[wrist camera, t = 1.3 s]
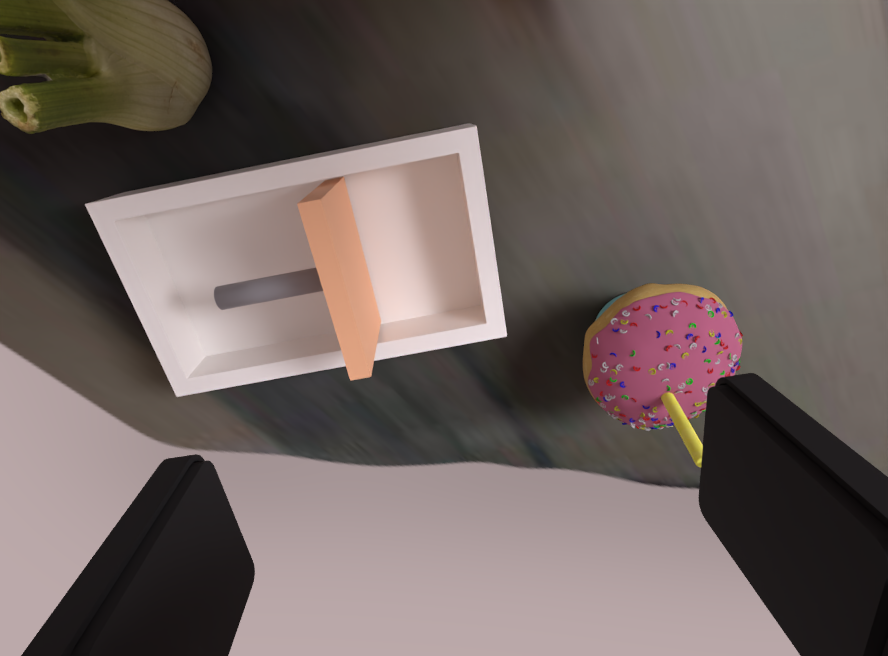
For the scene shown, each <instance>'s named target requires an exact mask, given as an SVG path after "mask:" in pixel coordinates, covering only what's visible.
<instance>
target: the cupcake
mask: <svg viewBox="0 0 888 656" xmlns="http://www.w3.org/2000/svg"><path fill="white" fill-rule="evenodd" d="M732 316H733V313H732V312H731V311H728V310H727V308H726V306H725V305H724V303H723V302H722V301H721V300H720V299H719V298H718V297H717V296H716V295H715V294H713V293H712V292H710V291H708V290H706V289H704V288H702V287H699V286H694V285H688V284H666V285H663V284H654V283H649V284H645V285H642V286H640V287H637V288H635V289H633V290H631V291H629V292H627V293H625V294H622V295H620V296H618V297H616V298H614V299H612V300H611V301H610V302H608V303H607V304H606V305H605V306H604V307H603V308H602V310H601V311H600V312H599V314H598V316H597V318H596V320H595V322H594V323H593V324H592V325H591V326H590V327H589V328H588V330H587V331H586V334H585V340H584V351H583V374H584V379H585V382H586V385H587V387H588V390H589V392H590V393H591V395H592V397H593V398H594V400H595V401H596V402H597V403H598V405H599V406H600V407H601V408H603V409H604V410H605V411H606V412H607V414H608V415H609V416H610V415H611V416H612V418H614V419H618V420H620V421H622V422H624V423H622V424H623V425H625V424H629V425H631V426H632V427H633V428H634V427H635V426H636V427H637V426H638V427H639V428H640V429H645V430H646V431H650V428H651V429H663V428H664V427H673V424H675V426H676V428H677V430H678V432H679V434H680V436H681V438H682V440H683V441H684V443H685V445H686V447H687V449H688V451H689V453H690V455H691V456H692V458H693V460H694V462H695V464H696V465H697V466H698V467H701V463H702V451H703V445H702V444H701V442H700V440H699V438H698V436H697V435H696V433H695V431H694V429H693V428H692V426H691V424H690V422H689V421H688V419H690V418H693V417H694V418H697V417H698V416H699V414H700V413H702V412H704V411H706V402H707V393H708V390H709V388H710V387H713V386H715V384H716V382H717V380H718V379H719V378H721V377H727V376H734V375H735V372H736V371H737V370H739V369H740V366H738V365H739V364H740V355H741V350H742V337H741V336H743V335H742V333H741V332H740V331H739V329H738V327H737V325H736V323H735V320H734V318H733V317H732ZM696 415H697V416H696ZM638 427H637V428H638ZM641 427H643V428H641ZM646 427H648V428H646ZM659 427H660V428H659ZM639 428H638V429H639Z"/></svg>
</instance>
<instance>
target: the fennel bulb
mask: <svg viewBox="0 0 888 656" xmlns="http://www.w3.org/2000/svg"><path fill="white" fill-rule="evenodd" d="M0 34H8V35H10V34H12V35H26V36H32V37H44V38H45V39H46V40H47V41H43V40H41V41H39V40H25V39H15V38H6V37H3V36H0V74H2V75H6V76H19V77H28V76H39V77H44V78H46V79H47V81H44V82H41V83H29V84H25V83H23V84H21V85H14V86H10V87H9V88H8V89H6V90H4V91H1V92H0V110H1V111H2V113H1V115H2V116H3V118H4V119H6V120H8V121H9V122H10V123H11V124H12V125H13V126H15V127H18V128H19V129H20V130H22V131H24V132H26V133H28V134H34V133H36V132H37V133H39V132H42V131H46V130H49V129H54V128H57V127H65V126H69V125H76V124H82V123H88V122H105V123H110V124H115V125H118V126H122V127H126V128H130V129H135V130H141V131H162V130H168V129H172V128H175V127H178V126H180V125H184V124H186V123H187V122H188V121H189V120H190V119H191V117H192V116H193V115H194V113H195V111H196V109H197V108H198V106H199V104H200V103H201V101H202V100H203V98H204V97H205V96H206V94H207V92H208V89H209V87H210V84H211V79H212V63H211V59H210V55H209V52H208V49H207V46H206V43H205V41H204V39H203V37H202V35H201V33H200V32H199V30H198V28H197V27H196V26H195V24H194V23H193V22H192V21H191V20H190V18H189V17H188V16H187V15H186V14H185V13H183V12H182V11H181V10H180V9H179V8H177V7H176V6H175V5H173V4H172V3H171V2H169V1H168V0H0Z"/></svg>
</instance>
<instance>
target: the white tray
mask: <svg viewBox="0 0 888 656" xmlns="http://www.w3.org/2000/svg"><path fill="white" fill-rule="evenodd" d="M339 177H344V179H345V183H346V187H347V190H348V194H349V198H350V202H351V206H352V210H353V214H354V218H355V221H356V225H357V229H358V233H359V237H360V241H361V245H362V249H363V252H364V256H365V260H366V264H367V268H368V272H369V276H370V280H371V283H372V287H373V291H374V295H375V299H376V303H377V307H378V311H379V314H380V318H381V325H380V330H379V336H378V341H377V347H376V352H375V358H374V361H376V360H381V359H387V358H392V357H398V356H403V355H409V354H414V353H419V352H425V351H430V350H436V349H441V348H447V347H452V346H458V345H463V344H469V343H474V342H480V341H485V340H490V339H496V338H501V337H507V332H506V325H505V318H504V311H503V304H502V297H501V290H500V283H499V277H498V270H497V263H496V256H495V249H494V242H493V235H492V228H491V222H490V215H489V208H488V201H487V194H486V187H485V180H484V173H483V167H482V160H481V153H480V146H479V139H478V132H477V126H475V125H473V124H471V123H468V124H463V125H458V126H453V127H448V128H443V129H438V130H433V131H428V132H422V133H417V134H412V135H407V136H402V137H397V138H392V139H387V140H382V141H377V142H372V143H367V144H362V145H357V146H352V147H347V148H342V149H337V150H332V151H327V152H322V153H317V154H312V155H307V156H302V157H297V158H292V159H287V160H282V161H277V162H272V163H267V164H262V165H257V166H252V167H247V168H242V169H237V170H232V171H227V172H222V173H217V174H212V175H207V176H202V177H197V178H192V179H187V180H182V181H177V182H172V183H167V184H162V185H157V186H152V187H147V188H142V189H137V190H132V191H127V192H123V193H120V194H116V195H113V196H110V197H107V198H103V199H100V200H97V201H94V202H90V203H87V204H85V206H86V208H87V210H88V212H89V214H90V216H91V218H92V220H93V223H94V225H95V227H96V229H97V231H98V233H99V235H100V237H101V239H102V241H103V243H104V246H105V248H106V250H107V252H108V254H109V256H110V258H111V260H112V262H113V264H114V267H115V269H116V271H117V273H118V275H119V277H120V279H121V281H122V283H123V285H124V287H125V290H126V292H127V294H128V296H129V298H130V300H131V302H132V304H133V306H134V308H135V311H136V313H137V315H138V317H139V319H140V321H141V323H142V325H143V327H144V329H145V331H146V334H147V336H148V338H149V340H150V342H151V344H152V346H153V348H154V350H155V352H156V355H157V357H158V359H159V361H160V363H161V365H162V367H163V369H164V371H165V373H166V375H167V378H168V380H169V382H170V384H171V386H172V388H173V390H174V392H175V394H176V396H177V397H179V396H184V395H190V394H195V393H201V392H206V391H212V390H217V389H223V388H228V387H234V386H239V385H245V384H250V383H256V382H261V381H266V380H272V379H277V378H283V377H288V376H294V375H299V374H305V373H310V372H316V371H321V370H327V369H332V368H337V367H343V366H346V364H345V361H344V358H343V354H342V351H341V348H340V345H339V341H338V338H337V335H336V331H335V328H334V325H333V321H332V318H331V315H330V312H329V308H328V305H327V302H326V298H325V295H324V292H323V291H320V292H315V293H310V294H304V295H299V296H294V297H288V298H283V299H278V300H272V301H267V302H262V303H257V304H251V305H246V306H241V307H235V308H230V309H225V310H221V309H220V308H219V307H218V306H217V304H216V302H215V299H214V289H215V287H217V286H222V285H227V284H232V283H237V282H243V281H248V280H253V279H258V278H263V277H269V276H274V275H279V274H284V273H290V272H295V271H300V270H305V269H311V268H316V265H315V262H314V259H313V255H312V252H311V249H310V245H309V242H308V239H307V235H306V232H305V229H304V226H303V222H302V219H301V216H300V212H299V209H298V206H297V203H298V202H300V201H301V200H302V199H303V198H305V197H306V196H307V195H308V194H309V193H311V192H312V191H313V190H314V189H315V188H317V187H318V186H319V185H320V184H321V183H323V182H324V181H325V180H329V179H334V178H339Z"/></svg>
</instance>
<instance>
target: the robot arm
mask: <svg viewBox="0 0 888 656" xmlns="http://www.w3.org/2000/svg"><path fill="white" fill-rule="evenodd" d="M699 505H700V509H701V512H702V514H703V516H704V518H705V519H706V521H707V522H708V524H709V525H710V527H711V528H712V530H713V531H714V532H715V534H716V535H717V537H718V538H719V540H720V541H721V542H722V544H723V545H724V547H725V548H726V550H727V551H728V552H729V554H730V555H731V557H732V558H733V560H734V561H735V562H736V564H737V565H738V567H739V568H740V570H741V571H742V572H743V574H744V575H745V577H746V578H747V580H748V581H749V582H750V584H751V585H752V587H753V588H754V590H755V591H756V592H757V594H758V595H759V597H760V598H761V600H762V601H763V602H764V604H765V605H766V607H767V608H768V610H769V611H770V612H771V614H772V615H773V617H774V618H775V619H776V621H777V622H778V624H779V625H780V627H781V628H782V630H783V631H784V632H785V634H786V635H787V637H788V638H789V640H790V641H791V642H792V644H793V645H794V647H795V648H796V650H797V651H798V652H799V654H800V655H801V656H888V477H887V476H886V475H884V474H883V473H882V472H881V471H879V470H878V469H877V468H875V467H874V466H873V465H872V464H870V463H869V462H868V461H867V460H865V459H864V458H863V457H861V456H860V455H859V454H858V453H856V452H855V451H854V450H852V449H851V448H850V447H849V446H847V445H846V444H845V443H844V442H842V441H841V440H840V439H838V438H837V437H836V436H835V435H833V434H832V433H831V432H830V431H828V430H827V429H826V428H824V427H823V426H822V425H821V424H819V423H818V422H817V421H815V420H814V419H813V418H812V417H810V416H809V415H808V414H807V413H805V412H804V411H803V410H801V409H800V408H799V407H798V406H796V405H795V404H794V403H793V402H791V401H790V400H789V399H787V398H786V397H785V396H784V395H782V394H781V393H780V392H778V391H777V390H776V389H775V388H773V387H772V386H771V385H770V384H768V383H767V382H766V381H764V380H763V379H762V378H761V377H759V376H758V375H756V374H754V373H748V374H741V375H734V376H727V377H721V378H719V379H718V380H717V382H716V384H715V386H713V387H710V388H709V390H708V393H707V402H706V414H705V426H704V438H703V451H702V463H701V475H700V487H699ZM254 575H255V570H254V563H253V560H252V558H251V555H250V553H249V550H248V548H247V546H246V543H245V541H244V538H243V536H242V533H241V531H240V528H239V526H238V523H237V521H236V519H235V516H234V514H233V511H232V509H231V506H230V504H229V501H228V499H227V496H226V494H225V492H224V489H223V487H222V484H221V482H220V479H219V477H218V474H217V472H216V469H215V468H214V465H213V464H212V463H211V462H210V461H204V459H203V458H202V457H201V456H200V455H189V456H183V457H175V458H169V459H166V460H164V461H163V462H162V463H161V464H160V465H159V467H158V468H157V469H156V471H155V472H154V473H153V475H152V476H151V477H150V479H149V480H148V482H147V483H146V484H145V486H144V487H143V488H142V490H141V491H140V493H139V494H138V496H137V497H136V498H135V500H134V501H133V502H132V504H131V505H130V507H129V508H128V509H127V511H126V512H125V513H124V515H123V516H122V517H121V519H120V520H119V522H118V523H117V524H116V526H115V527H114V528H113V530H112V531H111V533H110V534H109V535H108V537H107V538H106V539H105V541H104V542H103V544H102V545H101V546H100V548H99V549H98V551H97V552H96V553H95V555H94V556H93V557H92V559H91V560H90V562H89V563H88V564H87V566H86V567H85V568H84V570H83V571H82V573H81V574H80V575H79V577H78V578H77V579H76V581H75V582H74V584H73V585H72V586H71V588H70V589H69V590H68V592H67V593H66V595H65V596H64V597H63V599H62V600H61V602H60V603H59V604H58V606H57V607H56V609H55V610H54V611H53V613H52V614H51V615H50V617H49V618H48V620H47V621H46V623H45V624H44V625H43V626H42V628H41V629H40V631H39V632H38V633H37V635H36V636H35V637H34V639H33V640H32V642H31V643H30V644H29V646H28V647H27V648H26V650H25V651H24V653H23V654H22V655H21V656H228V654H229V652H230V649H231V646H232V643H233V640H234V637H235V634H236V631H237V628H238V626H239V622H240V620H241V617H242V614H243V611H244V608H245V605H246V602H247V600H248V597H249V594H250V590H251V588H252V585H253V582H254Z"/></svg>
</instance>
